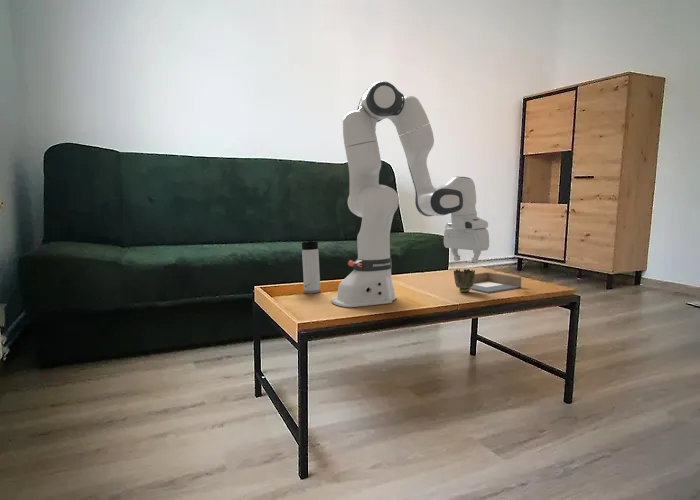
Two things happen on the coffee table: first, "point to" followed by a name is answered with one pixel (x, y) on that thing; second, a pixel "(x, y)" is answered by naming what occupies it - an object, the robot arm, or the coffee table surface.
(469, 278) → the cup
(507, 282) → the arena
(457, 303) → the coffee table surface
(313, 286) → the travel mug
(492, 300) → the coffee table surface
